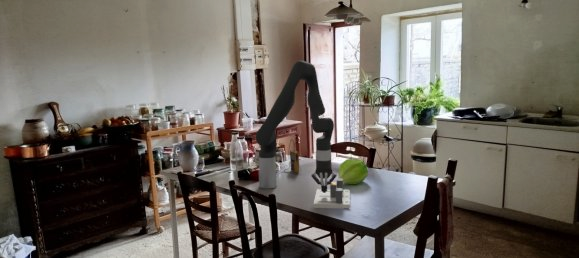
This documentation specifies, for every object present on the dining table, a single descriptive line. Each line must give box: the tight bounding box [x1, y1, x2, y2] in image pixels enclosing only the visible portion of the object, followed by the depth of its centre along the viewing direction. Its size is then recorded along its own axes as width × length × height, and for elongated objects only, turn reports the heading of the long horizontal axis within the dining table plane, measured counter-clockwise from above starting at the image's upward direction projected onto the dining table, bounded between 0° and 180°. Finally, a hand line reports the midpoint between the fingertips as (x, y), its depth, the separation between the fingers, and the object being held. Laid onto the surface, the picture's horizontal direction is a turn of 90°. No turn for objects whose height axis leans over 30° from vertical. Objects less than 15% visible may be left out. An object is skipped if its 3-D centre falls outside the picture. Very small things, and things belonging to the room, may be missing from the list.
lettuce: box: [337, 158, 369, 185], centre depth 225 cm, size 15×22×15 cm
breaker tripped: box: [329, 181, 337, 197], centre depth 200 cm, size 3×4×6 cm
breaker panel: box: [313, 188, 351, 209], centre depth 201 cm, size 17×22×2 cm
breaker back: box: [336, 177, 344, 192], centre depth 207 cm, size 3×4×6 cm
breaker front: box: [336, 188, 342, 203], centre depth 192 cm, size 3×4×6 cm
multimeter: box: [283, 139, 302, 175], centre depth 252 cm, size 15×10×20 cm
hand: (324, 192), depth 201 cm, fingers closed
